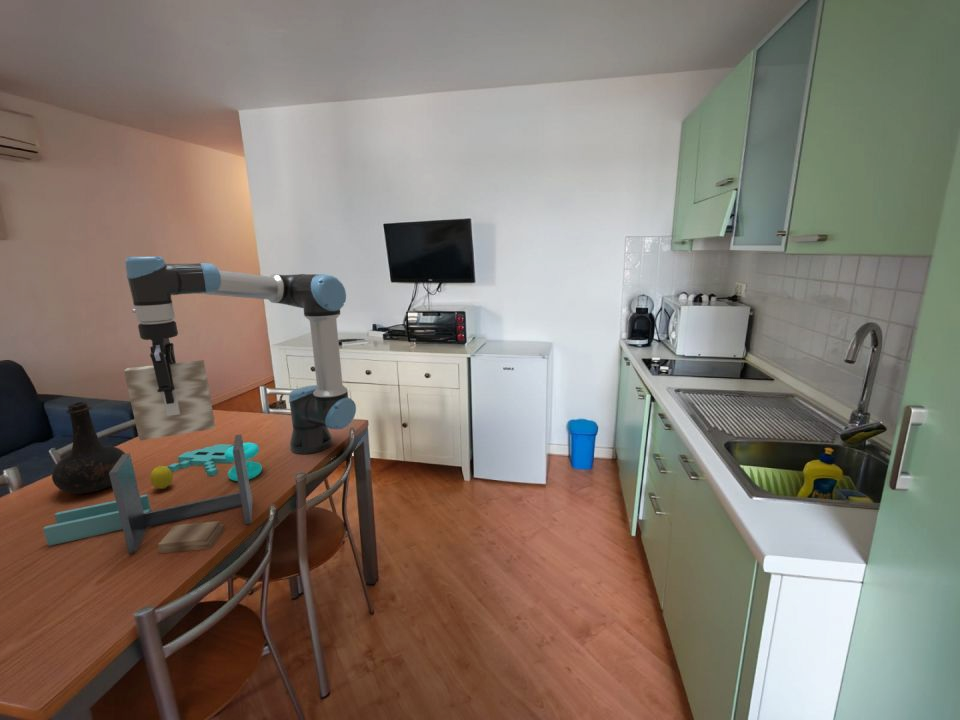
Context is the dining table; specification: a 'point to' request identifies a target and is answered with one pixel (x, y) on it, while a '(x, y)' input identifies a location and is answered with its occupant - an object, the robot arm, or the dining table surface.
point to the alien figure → (203, 458)
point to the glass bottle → (85, 457)
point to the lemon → (161, 477)
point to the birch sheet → (152, 408)
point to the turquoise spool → (252, 466)
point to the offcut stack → (191, 537)
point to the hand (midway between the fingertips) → (175, 412)
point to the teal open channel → (87, 522)
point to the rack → (138, 521)
